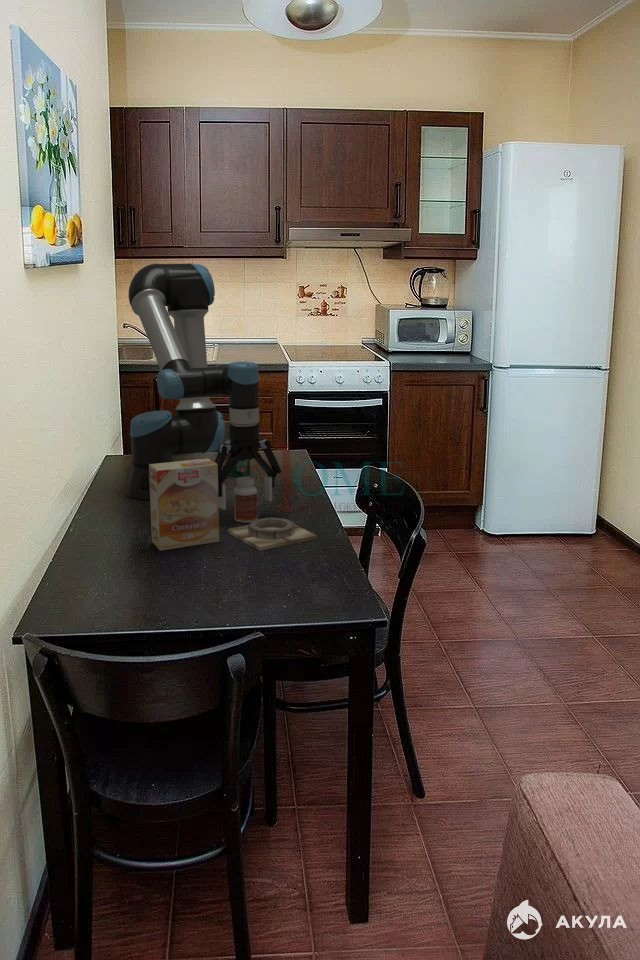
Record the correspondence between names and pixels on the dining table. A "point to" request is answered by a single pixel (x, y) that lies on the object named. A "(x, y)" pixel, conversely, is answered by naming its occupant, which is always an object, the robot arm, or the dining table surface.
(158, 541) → the coffeecake box
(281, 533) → the socket
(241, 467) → the canned tomato
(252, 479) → the pill bottle
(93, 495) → the dining table surface
